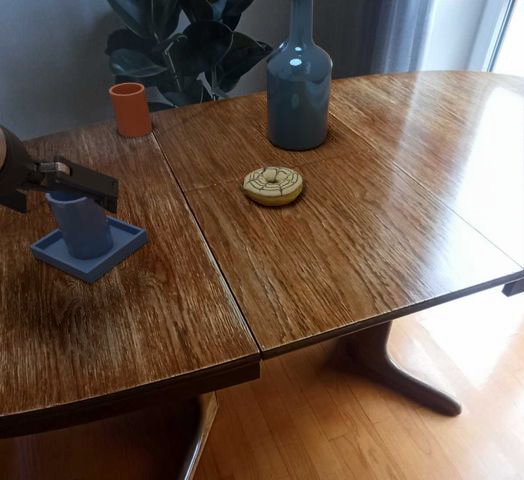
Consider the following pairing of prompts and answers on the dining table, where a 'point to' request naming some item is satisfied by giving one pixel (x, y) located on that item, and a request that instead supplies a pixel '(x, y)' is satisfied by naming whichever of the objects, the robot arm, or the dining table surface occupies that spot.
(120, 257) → the blue tray
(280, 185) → the decorated donut
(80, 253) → the blue cup
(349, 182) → the dining table surface
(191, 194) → the dining table surface
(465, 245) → the dining table surface
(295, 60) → the wine bottle
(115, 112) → the terracotta cup
